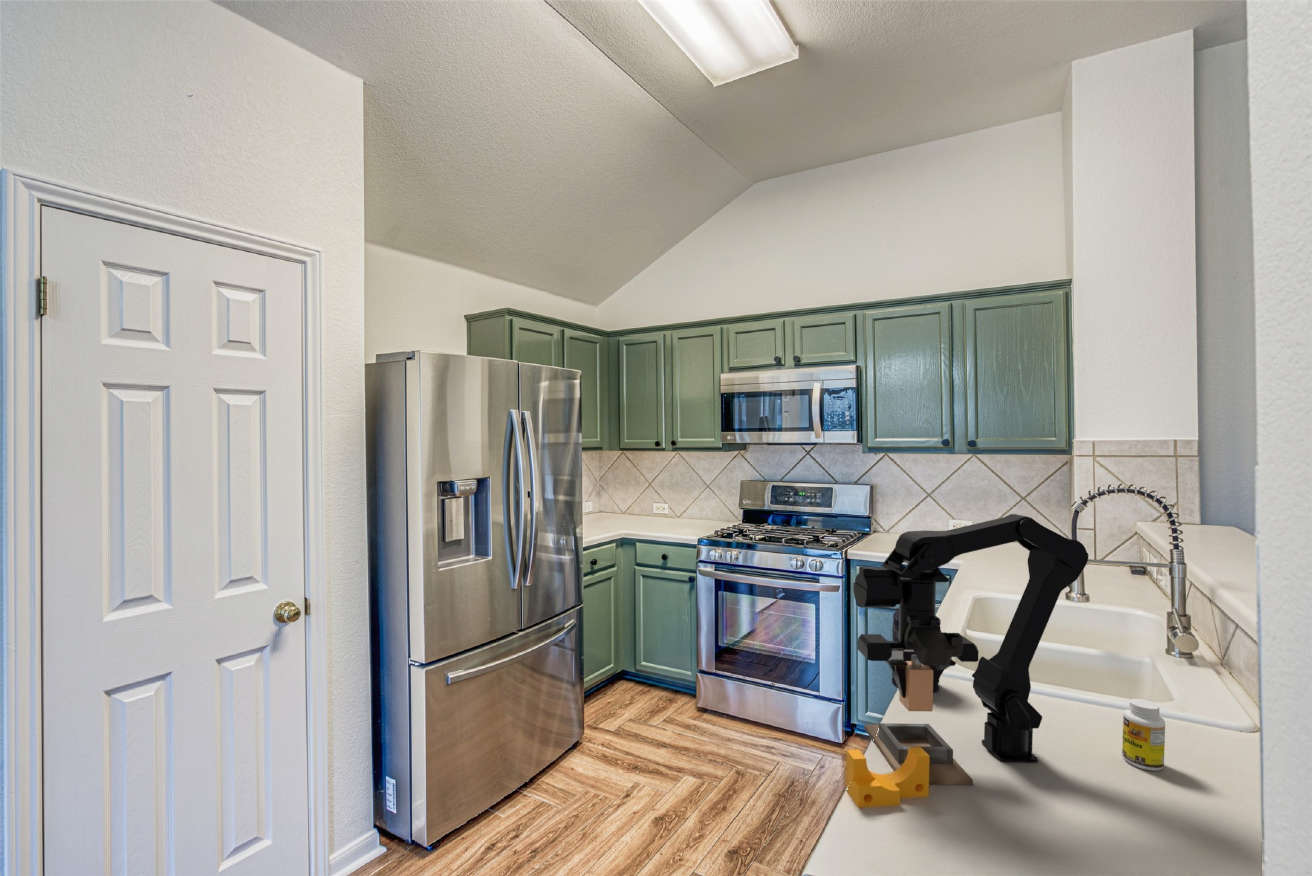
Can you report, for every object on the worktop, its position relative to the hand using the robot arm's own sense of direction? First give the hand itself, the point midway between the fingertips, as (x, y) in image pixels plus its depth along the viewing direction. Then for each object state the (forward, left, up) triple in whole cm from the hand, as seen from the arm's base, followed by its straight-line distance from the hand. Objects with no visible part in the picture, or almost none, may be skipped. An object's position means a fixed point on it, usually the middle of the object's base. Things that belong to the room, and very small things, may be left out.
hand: (915, 697), depth 106 cm
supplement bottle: (-38, +2, -10) cm, 39 cm away
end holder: (0, 0, -10) cm, 10 cm away
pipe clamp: (+9, +12, -10) cm, 18 cm away
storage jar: (-13, -29, -10) cm, 33 cm away
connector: (0, 0, -2) cm, 2 cm away
